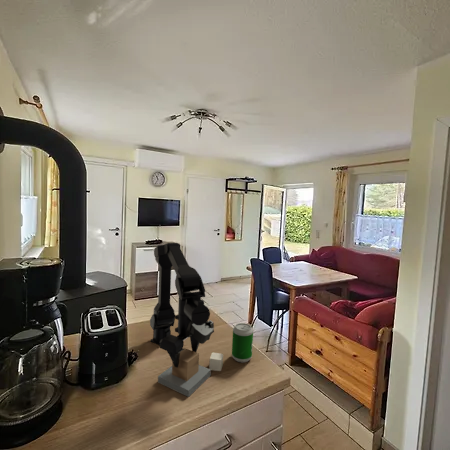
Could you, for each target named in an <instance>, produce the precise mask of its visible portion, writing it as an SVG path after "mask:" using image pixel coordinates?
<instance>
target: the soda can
mask: <svg viewBox="0 0 450 450" xmlns="http://www.w3.org/2000/svg"><path fill="white" fill-rule="evenodd" d="M231 341H232V343H231V356H232V357H231V358H233V359H234V361H236V362H238V363H247V362H249V361H250V360H251V359H252V357H253V343H254V342H253V341H254V329H253V327H252V326H251V325H250V324H248V323H243V322H241V323H236V324H235V325H234V326H233V328H232V340H231Z"/></svg>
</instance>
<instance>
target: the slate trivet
mask: <svg viewBox="0 0 450 450" xmlns="http://www.w3.org/2000/svg"><path fill="white" fill-rule="evenodd" d="M211 376H212V370H211V369H209V368H207V367H205V366H204V365H200V364H199V370H198V372H197V373H196V374H195V375H194V376H192V377H191V378H190V379H189V380H188V381H185V380H183V379H181V378H179V377H176V376H174V375H172V365H171V366H169V367H168V368H167V369H166V370H165V371H163V372H162V373H160V374H159V375H158V376H157V383H158V384H161V385H163V386H164V387H166V388H169V389H171V390H172V391H175V392H177V393H179V394H181V395H184V396H185V397H188V398H190V397H191V396H192V395H193V393H194V392H195V391H196V390H198V389H199V388H200V387H201V386H202V384H204V383H205V382H206V381H207V380H208V379H209V378H210V377H211Z"/></svg>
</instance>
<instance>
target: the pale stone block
mask: <svg viewBox="0 0 450 450" xmlns="http://www.w3.org/2000/svg"><path fill="white" fill-rule="evenodd" d="M208 364H209V368H208V369H211V371H215V372H221V371H222V368H223V365H224V354H223V353H220V352H219V353H218V352H211V355H210V357H209V363H208Z"/></svg>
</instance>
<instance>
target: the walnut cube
mask: <svg viewBox="0 0 450 450" xmlns="http://www.w3.org/2000/svg"><path fill="white" fill-rule="evenodd" d="M183 349H184V350H182V351H181V352H180V358H179V366H178V368H177V367H175V366H174V364H173V362H172V361H171V362H172V363H171V366H172V375H174V376H176V377H179V378H181V379H183V380H185V381H188V380H189V379H190V378H191V377H192V376H194V375H195V374H196V373H197V372H198V370H199V365H200V362H199V361H200V353H199V352H198V351H197V352H194V351H192V349H188V348H186V347H183Z"/></svg>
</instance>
